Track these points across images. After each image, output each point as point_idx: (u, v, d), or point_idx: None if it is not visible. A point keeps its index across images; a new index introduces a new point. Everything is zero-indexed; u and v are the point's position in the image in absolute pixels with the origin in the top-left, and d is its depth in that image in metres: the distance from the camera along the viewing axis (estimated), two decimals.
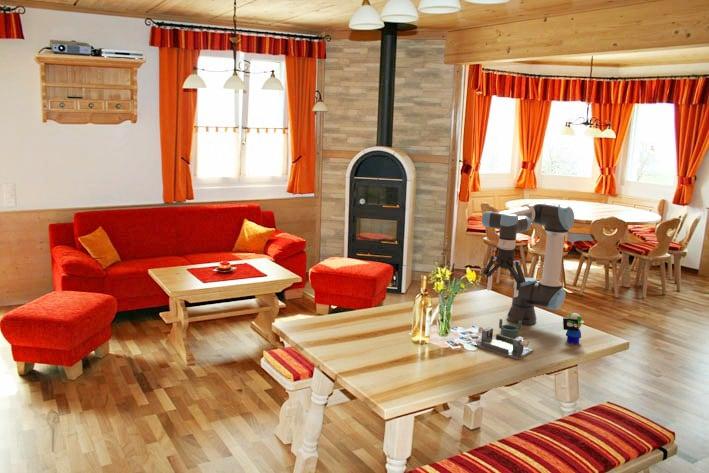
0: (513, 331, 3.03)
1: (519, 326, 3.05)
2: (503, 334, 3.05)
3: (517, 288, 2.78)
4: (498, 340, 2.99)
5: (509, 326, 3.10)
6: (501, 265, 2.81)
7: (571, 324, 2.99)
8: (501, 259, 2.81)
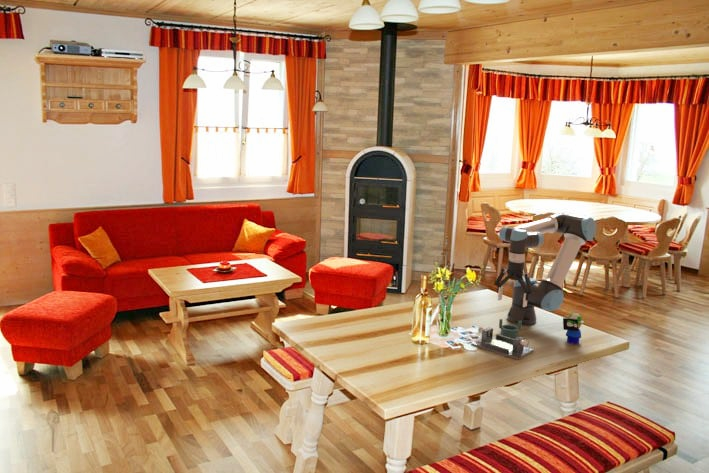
0: (513, 331, 3.03)
1: (519, 326, 3.05)
2: (503, 334, 3.05)
3: (526, 298, 2.98)
4: (498, 340, 2.99)
5: (509, 326, 3.10)
6: (511, 277, 3.02)
7: (571, 324, 2.99)
8: (511, 271, 3.02)
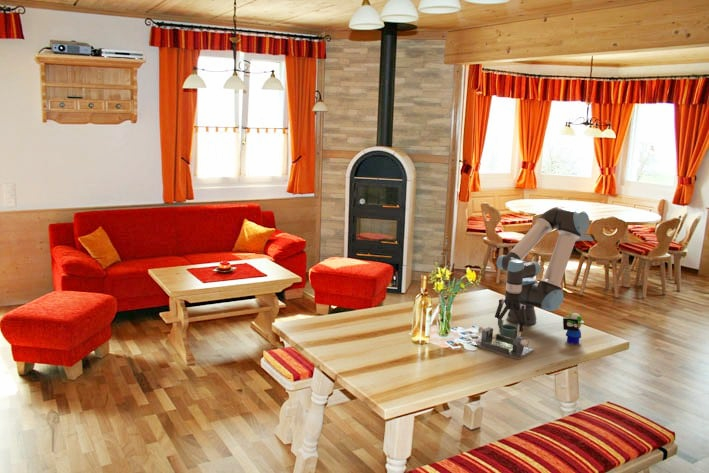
0: (513, 331, 3.03)
1: None
2: (503, 334, 3.05)
3: (520, 330, 3.03)
4: (498, 340, 2.99)
5: (508, 326, 3.11)
6: (508, 307, 3.05)
7: (571, 324, 2.99)
8: (508, 301, 3.05)
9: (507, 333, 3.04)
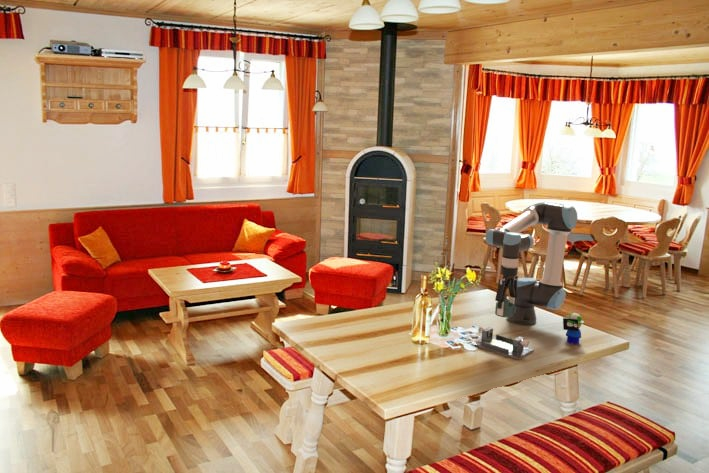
0: (496, 305, 2.89)
1: (504, 304, 2.85)
2: None
3: None
4: (498, 340, 2.99)
5: (512, 306, 2.89)
6: None
7: (571, 324, 2.99)
8: None
9: None
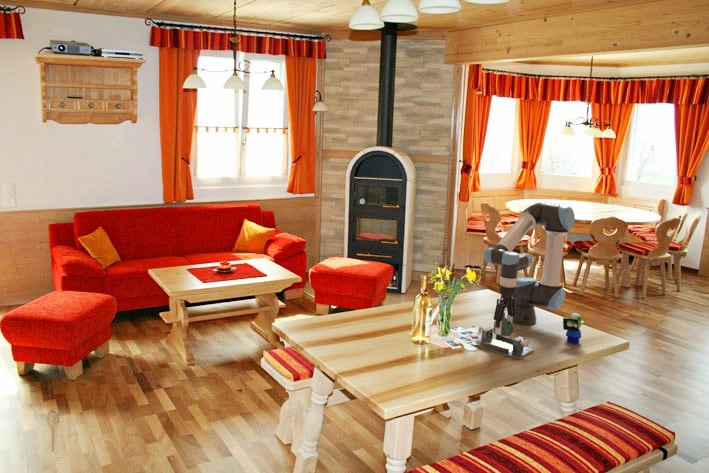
0: (495, 324, 2.91)
1: (502, 323, 2.87)
2: None
3: None
4: (498, 340, 2.99)
5: (510, 325, 2.91)
6: None
7: (571, 324, 2.99)
8: None
9: None
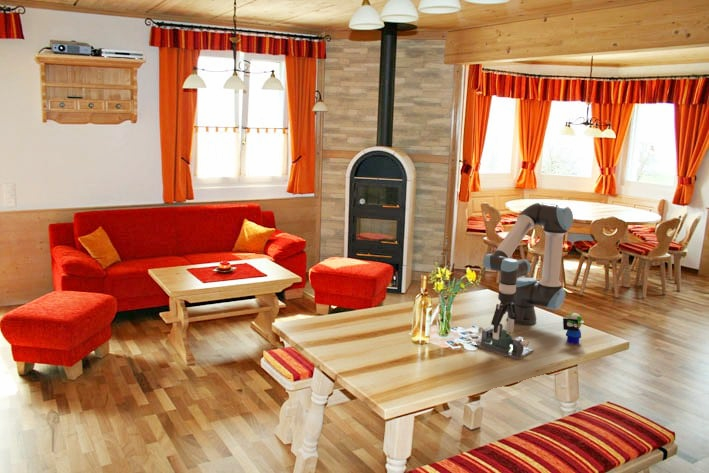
0: None
1: (501, 335, 2.88)
2: None
3: None
4: None
5: (509, 336, 2.92)
6: None
7: (571, 324, 2.99)
8: None
9: (492, 337, 2.94)
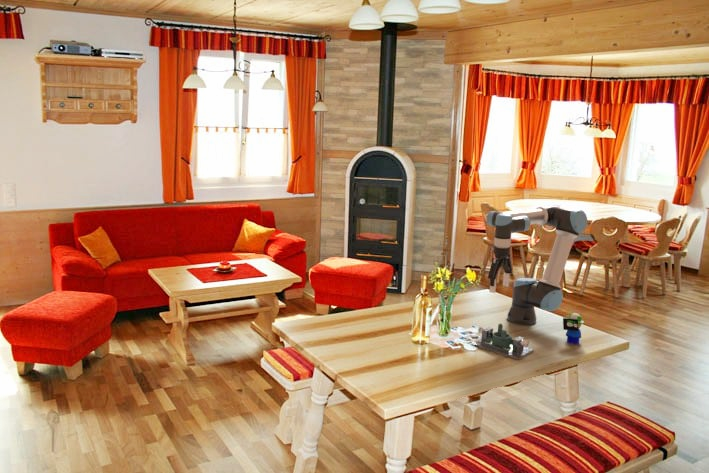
0: (493, 336, 2.91)
1: (501, 335, 2.88)
2: None
3: None
4: None
5: (509, 336, 2.92)
6: None
7: (571, 324, 2.99)
8: None
9: None
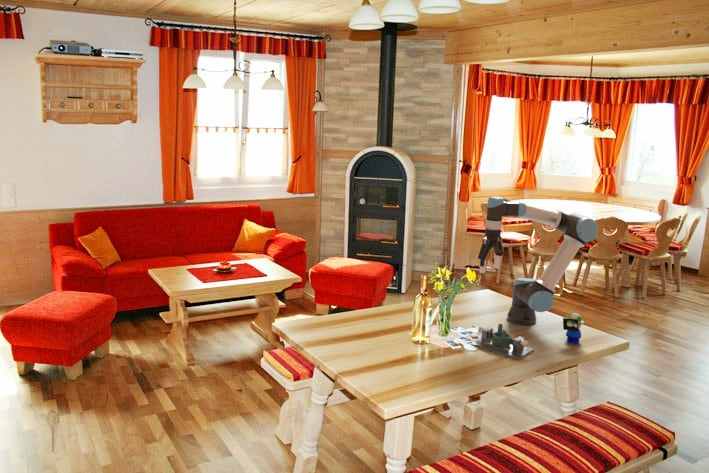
0: (493, 336, 2.91)
1: (501, 335, 2.88)
2: None
3: None
4: None
5: (508, 336, 2.92)
6: None
7: (571, 324, 2.99)
8: None
9: None
